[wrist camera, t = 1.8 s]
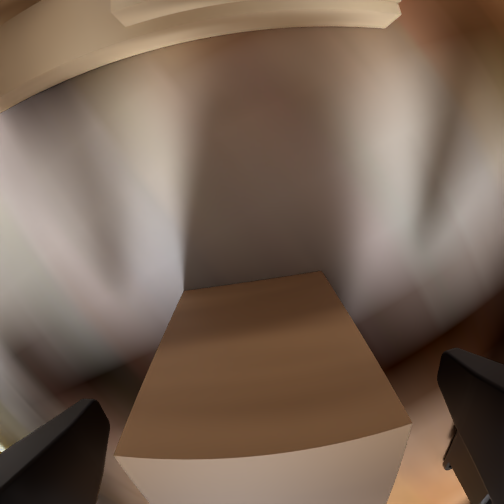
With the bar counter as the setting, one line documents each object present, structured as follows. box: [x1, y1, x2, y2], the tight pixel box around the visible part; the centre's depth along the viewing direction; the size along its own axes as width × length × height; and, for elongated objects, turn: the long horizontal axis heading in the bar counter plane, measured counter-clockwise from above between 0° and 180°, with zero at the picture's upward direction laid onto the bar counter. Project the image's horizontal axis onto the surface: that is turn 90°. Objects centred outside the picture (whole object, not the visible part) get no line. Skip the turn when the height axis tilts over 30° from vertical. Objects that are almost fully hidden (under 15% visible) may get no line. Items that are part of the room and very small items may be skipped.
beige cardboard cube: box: [113, 271, 412, 504], centre depth 7 cm, size 5×4×6 cm
